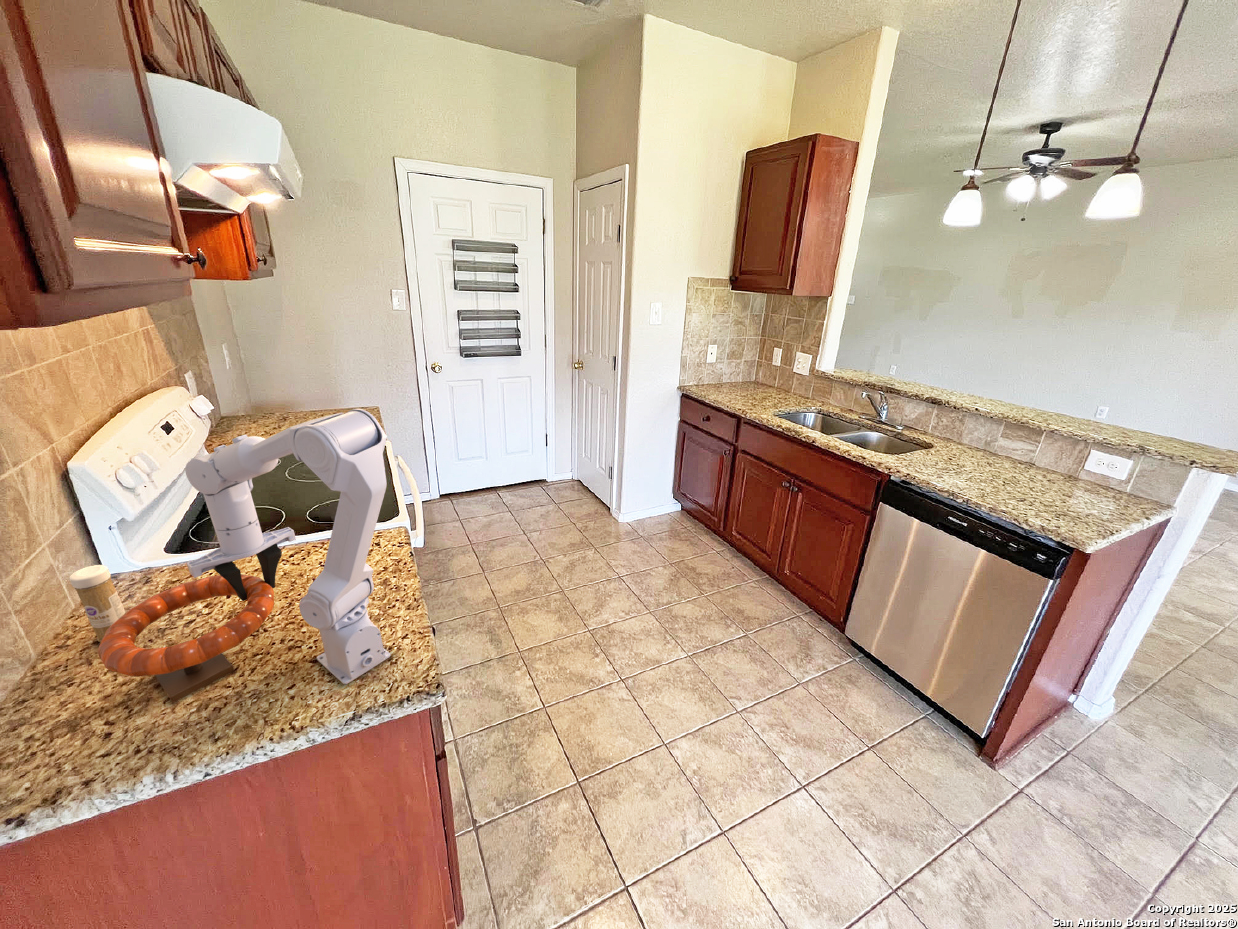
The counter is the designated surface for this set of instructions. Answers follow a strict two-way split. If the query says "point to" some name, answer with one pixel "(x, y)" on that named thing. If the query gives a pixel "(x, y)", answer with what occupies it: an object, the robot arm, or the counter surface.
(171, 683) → the stand
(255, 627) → the ring
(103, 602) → the sprinkles bottle
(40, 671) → the counter surface
